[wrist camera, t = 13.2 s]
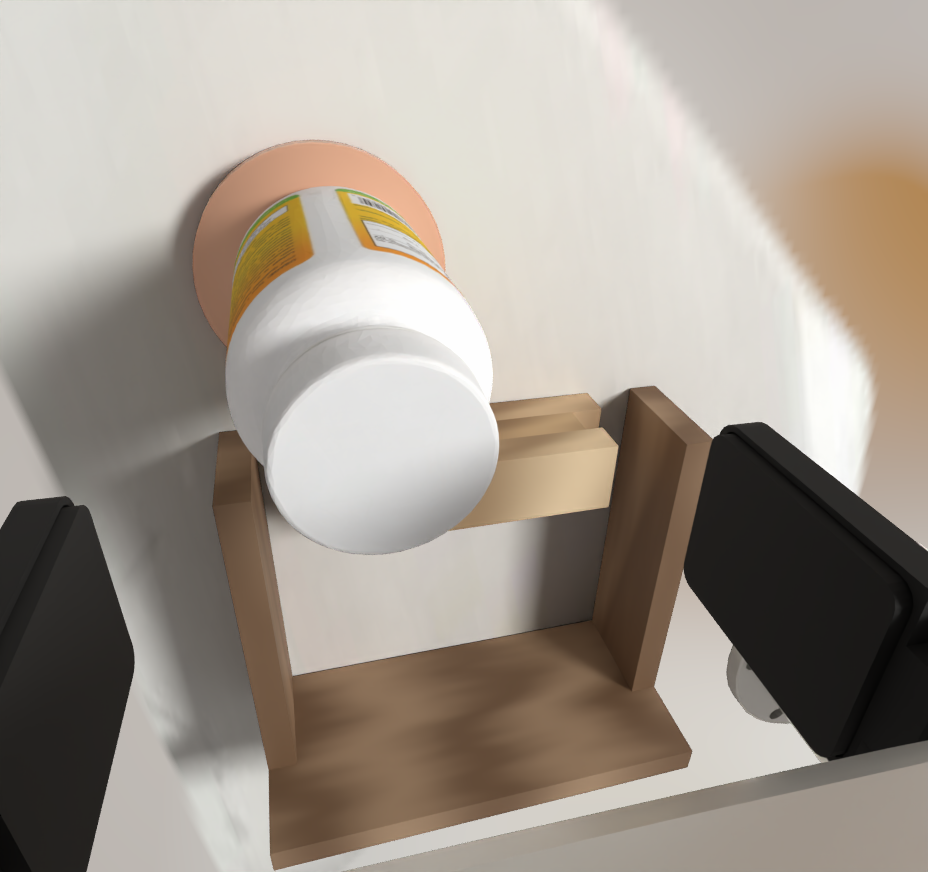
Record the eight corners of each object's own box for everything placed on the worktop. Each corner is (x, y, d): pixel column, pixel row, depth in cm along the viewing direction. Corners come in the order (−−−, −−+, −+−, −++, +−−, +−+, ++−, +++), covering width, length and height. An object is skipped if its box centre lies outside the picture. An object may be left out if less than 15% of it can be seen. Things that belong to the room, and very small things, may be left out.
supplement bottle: (258, 381, 20) (260, 618, 12) (210, 196, 17) (170, 347, 9) (434, 351, 21) (541, 551, 13) (415, 170, 18) (538, 287, 10)
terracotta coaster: (439, 137, 19) (446, 142, 18) (439, 366, 22) (444, 376, 22) (171, 141, 17) (167, 146, 17) (217, 386, 21) (216, 399, 20)
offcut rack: (654, 386, 25) (773, 494, 19) (609, 631, 32) (687, 767, 26) (219, 432, 22) (205, 581, 16) (270, 697, 28) (274, 870, 23)
